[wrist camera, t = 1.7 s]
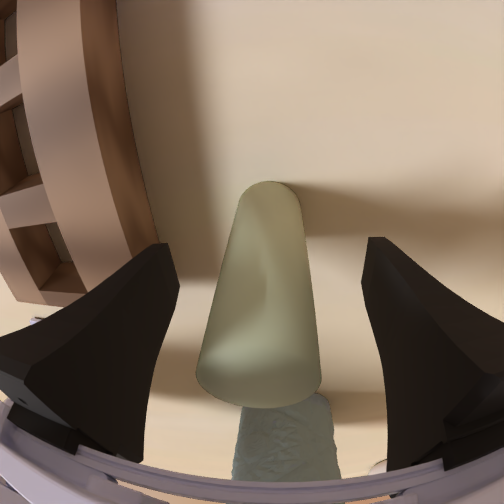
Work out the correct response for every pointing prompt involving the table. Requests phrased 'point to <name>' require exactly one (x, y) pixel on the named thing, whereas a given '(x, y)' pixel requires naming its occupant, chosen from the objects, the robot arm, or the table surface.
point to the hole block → (68, 152)
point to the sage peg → (263, 307)
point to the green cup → (287, 443)
